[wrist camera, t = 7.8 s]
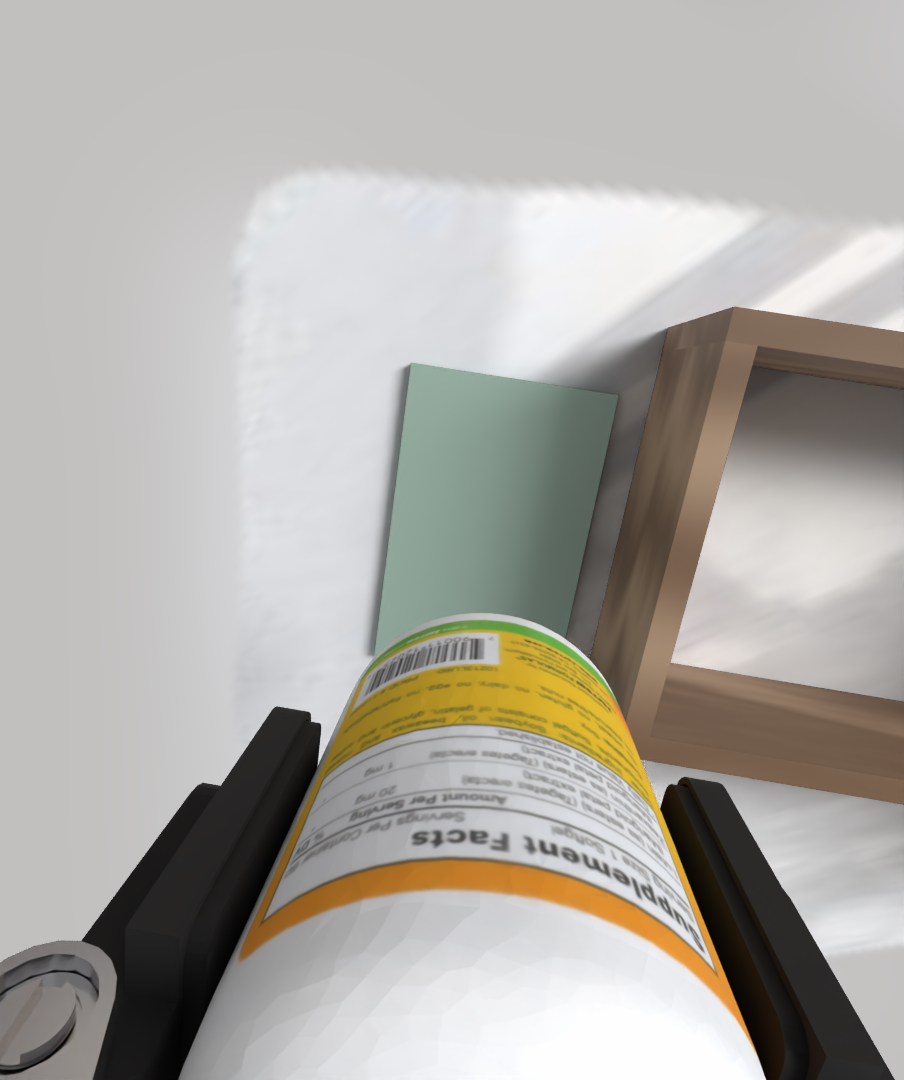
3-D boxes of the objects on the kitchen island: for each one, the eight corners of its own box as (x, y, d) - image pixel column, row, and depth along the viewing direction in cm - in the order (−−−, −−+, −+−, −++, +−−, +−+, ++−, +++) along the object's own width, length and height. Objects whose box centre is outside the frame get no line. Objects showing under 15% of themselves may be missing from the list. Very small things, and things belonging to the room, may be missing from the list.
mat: (553, 681, 29) (554, 686, 29) (376, 651, 29) (374, 655, 29) (616, 395, 25) (618, 395, 25) (412, 363, 26) (411, 362, 25)
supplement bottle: (532, 884, 12) (649, 2389, 3) (306, 772, 12) (-326, 2083, 3) (675, 687, 11) (1667, 2339, 2) (424, 554, 11) (-44, 1712, 1)
